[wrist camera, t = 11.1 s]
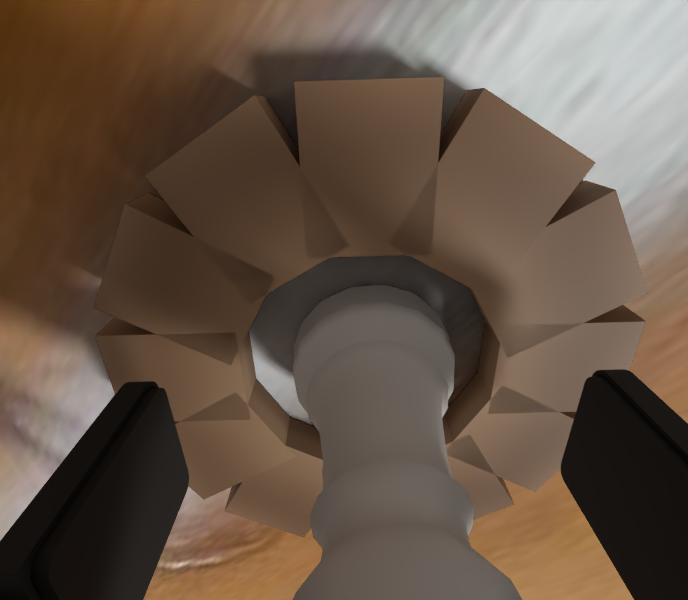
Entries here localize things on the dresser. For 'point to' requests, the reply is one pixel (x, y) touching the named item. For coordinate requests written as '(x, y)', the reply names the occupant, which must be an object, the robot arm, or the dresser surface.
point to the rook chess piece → (386, 454)
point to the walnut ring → (370, 240)
